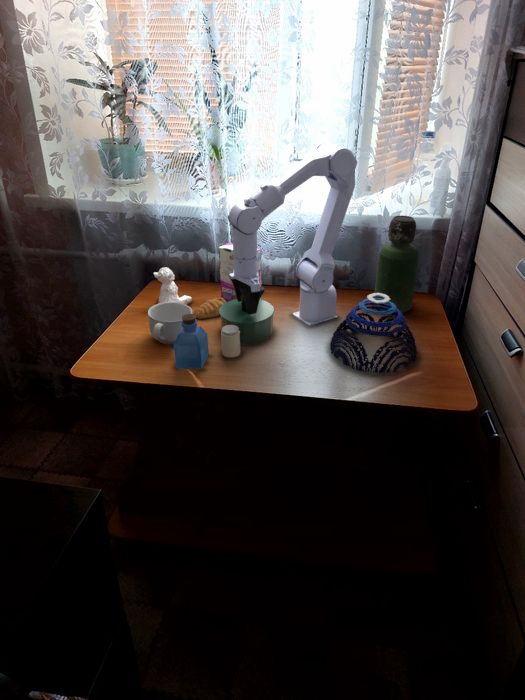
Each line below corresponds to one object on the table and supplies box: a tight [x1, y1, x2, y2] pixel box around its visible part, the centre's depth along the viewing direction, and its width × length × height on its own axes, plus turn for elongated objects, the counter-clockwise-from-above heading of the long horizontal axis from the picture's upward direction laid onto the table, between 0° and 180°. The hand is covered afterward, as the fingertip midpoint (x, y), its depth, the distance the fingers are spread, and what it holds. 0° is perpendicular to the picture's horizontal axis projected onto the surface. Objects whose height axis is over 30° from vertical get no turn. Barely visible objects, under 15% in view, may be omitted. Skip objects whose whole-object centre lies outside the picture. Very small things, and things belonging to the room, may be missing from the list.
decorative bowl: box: [329, 292, 418, 374], centre depth 126 cm, size 20×20×14 cm
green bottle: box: [373, 215, 420, 314], centre depth 144 cm, size 10×10×25 cm
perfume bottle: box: [173, 313, 210, 371], centre depth 123 cm, size 6×6×12 cm
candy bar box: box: [218, 242, 263, 302], centre depth 149 cm, size 11×5×16 cm, turn 58°
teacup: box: [147, 302, 193, 345], centre depth 133 cm, size 14×11×8 cm
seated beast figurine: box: [153, 266, 193, 306], centre depth 148 cm, size 10×9×12 cm
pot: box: [220, 315, 274, 344], centre depth 137 cm, size 13×13×6 cm
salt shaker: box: [220, 325, 241, 358], centre depth 127 cm, size 4×4×7 cm
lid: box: [219, 293, 275, 325], centre depth 134 cm, size 14×14×6 cm
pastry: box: [193, 296, 226, 320], centre depth 146 cm, size 9×7×4 cm
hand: (246, 307), depth 135 cm, fingers open, 7 cm apart
